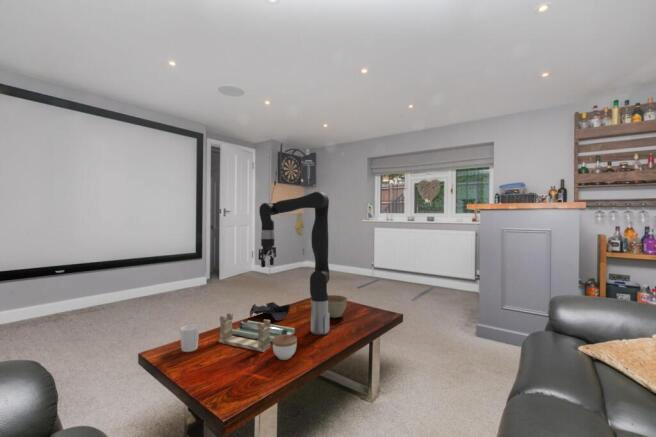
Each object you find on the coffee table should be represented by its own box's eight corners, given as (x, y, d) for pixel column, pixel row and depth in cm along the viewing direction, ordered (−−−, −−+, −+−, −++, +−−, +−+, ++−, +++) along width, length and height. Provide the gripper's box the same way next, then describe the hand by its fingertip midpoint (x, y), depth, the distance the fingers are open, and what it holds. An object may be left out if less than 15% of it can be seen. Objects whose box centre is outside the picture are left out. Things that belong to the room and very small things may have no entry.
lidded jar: (275, 350, 136) (275, 330, 136) (298, 351, 136) (298, 330, 136) (269, 362, 126) (269, 340, 126) (295, 362, 125) (295, 340, 125)
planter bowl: (347, 320, 178) (347, 301, 178) (320, 319, 178) (320, 301, 178) (346, 311, 194) (346, 294, 194) (321, 311, 194) (321, 294, 194)
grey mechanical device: (272, 311, 195) (272, 297, 195) (291, 318, 181) (291, 303, 181) (247, 317, 182) (247, 302, 182) (266, 326, 168) (266, 309, 168)
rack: (270, 346, 140) (271, 320, 140) (263, 352, 135) (263, 324, 135) (227, 337, 150) (227, 313, 150) (218, 342, 145) (218, 316, 145)
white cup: (202, 347, 139) (202, 326, 139) (188, 354, 132) (188, 331, 132) (190, 344, 143) (190, 323, 143) (176, 350, 135) (176, 329, 135)
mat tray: (294, 332, 158) (294, 328, 158) (279, 343, 144) (279, 339, 144) (248, 324, 169) (248, 320, 169) (230, 334, 155) (230, 329, 155)
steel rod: (287, 334, 153) (287, 328, 152) (284, 337, 150) (283, 331, 149) (243, 326, 163) (242, 320, 163) (239, 329, 160) (238, 323, 160)
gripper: (266, 238, 163) (265, 268, 163) (280, 237, 176) (279, 264, 176) (254, 238, 166) (254, 267, 166) (269, 237, 179) (269, 263, 179)
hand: (267, 266), depth 171 cm, fingers open, 8 cm apart
